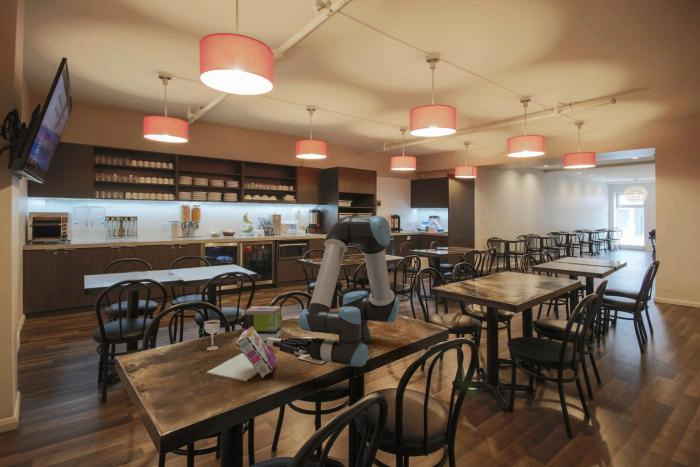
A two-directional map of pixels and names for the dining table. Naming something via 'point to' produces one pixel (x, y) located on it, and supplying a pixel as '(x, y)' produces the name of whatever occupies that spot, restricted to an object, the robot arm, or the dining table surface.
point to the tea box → (264, 321)
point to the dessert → (308, 360)
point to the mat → (235, 368)
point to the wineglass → (212, 330)
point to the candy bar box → (256, 351)
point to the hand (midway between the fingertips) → (267, 341)
